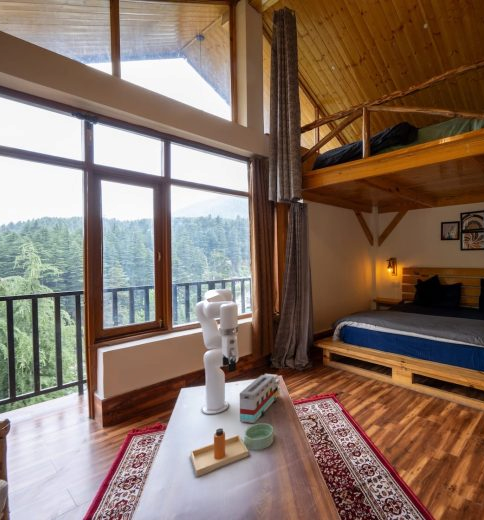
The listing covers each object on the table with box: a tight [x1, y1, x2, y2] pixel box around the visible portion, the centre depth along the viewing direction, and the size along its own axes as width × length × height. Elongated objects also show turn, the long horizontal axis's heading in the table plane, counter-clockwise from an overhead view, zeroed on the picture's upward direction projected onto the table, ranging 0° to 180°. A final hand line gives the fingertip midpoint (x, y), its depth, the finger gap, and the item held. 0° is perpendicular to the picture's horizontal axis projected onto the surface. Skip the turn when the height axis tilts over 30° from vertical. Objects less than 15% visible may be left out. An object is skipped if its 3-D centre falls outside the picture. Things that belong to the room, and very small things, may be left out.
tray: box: [190, 434, 249, 478], centre depth 121 cm, size 13×19×2 cm
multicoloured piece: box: [239, 373, 281, 424], centre depth 159 cm, size 8×30×15 cm, turn 168°
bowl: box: [244, 422, 274, 451], centre depth 130 cm, size 12×12×5 cm
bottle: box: [213, 427, 226, 459], centre depth 121 cm, size 4×4×11 cm
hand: (229, 368), depth 136 cm, fingers open, 9 cm apart
